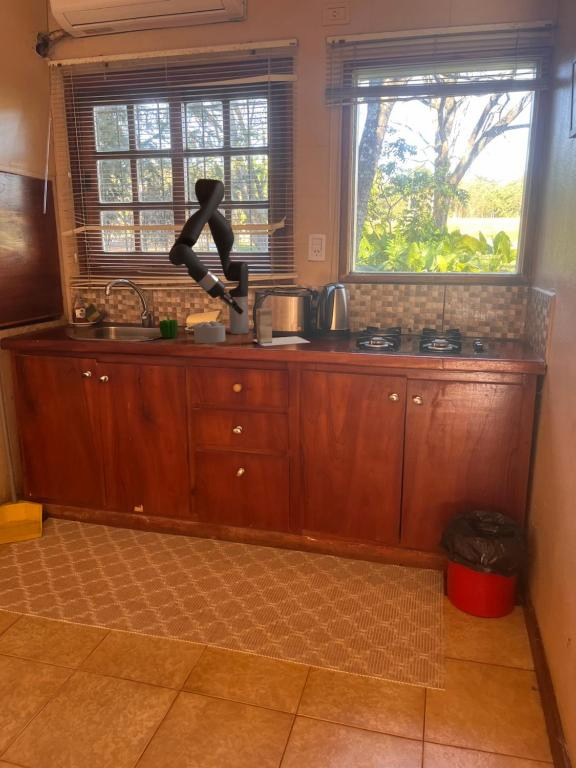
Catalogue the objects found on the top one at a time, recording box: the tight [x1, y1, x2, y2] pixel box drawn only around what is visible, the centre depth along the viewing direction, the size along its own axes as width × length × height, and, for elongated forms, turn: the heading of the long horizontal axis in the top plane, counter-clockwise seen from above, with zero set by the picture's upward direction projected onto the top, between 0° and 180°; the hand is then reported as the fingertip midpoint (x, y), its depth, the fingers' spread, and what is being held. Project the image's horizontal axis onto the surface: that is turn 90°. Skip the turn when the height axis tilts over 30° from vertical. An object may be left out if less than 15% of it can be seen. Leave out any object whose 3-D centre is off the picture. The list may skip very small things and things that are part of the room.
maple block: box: [255, 307, 273, 345], centre depth 231 cm, size 5×5×14 cm
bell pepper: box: [158, 315, 179, 339], centre depth 248 cm, size 8×8×10 cm
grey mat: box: [252, 335, 310, 347], centre depth 235 cm, size 16×21×1 cm
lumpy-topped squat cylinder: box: [193, 320, 226, 345], centre depth 238 cm, size 10×13×9 cm
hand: (241, 312), depth 226 cm, fingers closed
